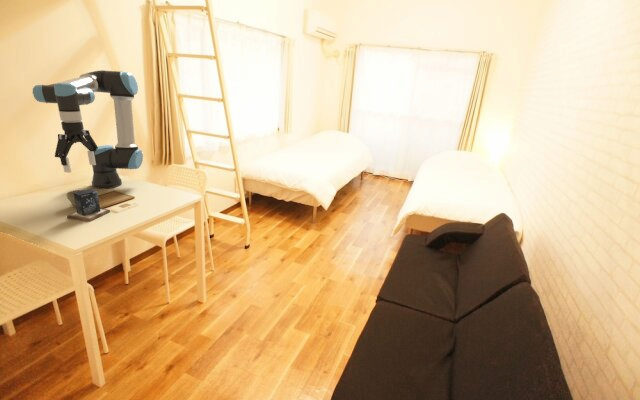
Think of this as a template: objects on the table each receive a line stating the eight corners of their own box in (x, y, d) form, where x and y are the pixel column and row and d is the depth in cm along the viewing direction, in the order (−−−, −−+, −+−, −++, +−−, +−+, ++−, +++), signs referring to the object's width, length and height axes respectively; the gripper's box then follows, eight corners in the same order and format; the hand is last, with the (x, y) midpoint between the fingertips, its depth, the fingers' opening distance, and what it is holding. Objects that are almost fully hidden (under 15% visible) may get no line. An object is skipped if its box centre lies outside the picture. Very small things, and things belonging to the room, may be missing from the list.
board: (88, 208, 165) (88, 206, 165) (110, 211, 163) (109, 209, 163) (67, 218, 154) (66, 215, 153) (90, 221, 152) (89, 218, 152)
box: (83, 216, 154) (79, 194, 150) (76, 213, 156) (72, 192, 153) (101, 211, 160) (97, 190, 157) (94, 208, 163) (90, 188, 159)
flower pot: (81, 210, 162) (78, 197, 160) (64, 208, 164) (61, 194, 161) (98, 204, 172) (95, 190, 169) (81, 201, 173) (79, 188, 171)
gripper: (87, 117, 156) (95, 161, 163) (36, 123, 133) (48, 174, 140) (101, 118, 155) (109, 162, 162) (52, 125, 132) (63, 176, 139)
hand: (80, 168), depth 151 cm, fingers open, 13 cm apart
